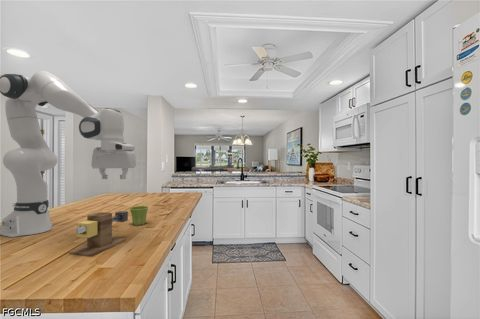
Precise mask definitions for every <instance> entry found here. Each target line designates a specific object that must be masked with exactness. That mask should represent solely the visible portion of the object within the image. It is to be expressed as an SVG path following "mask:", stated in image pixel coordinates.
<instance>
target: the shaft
mask: <svg viewBox="0 0 480 319" xmlns="http://www.w3.org/2000/svg"><path fill="white" fill-rule="evenodd" d="M114 213H115V214H114V216H113V215H112V223H115V222H116V223H125V222H128V221H129V220H128V217H129V216H128V215H129V211H123V210H119V211H116V212H114ZM97 228H98V224H97ZM86 231H87V226H82V227H78V228H77V227H76V228H75V233H76V235H77V234H80V233H83V232H86Z"/></svg>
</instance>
